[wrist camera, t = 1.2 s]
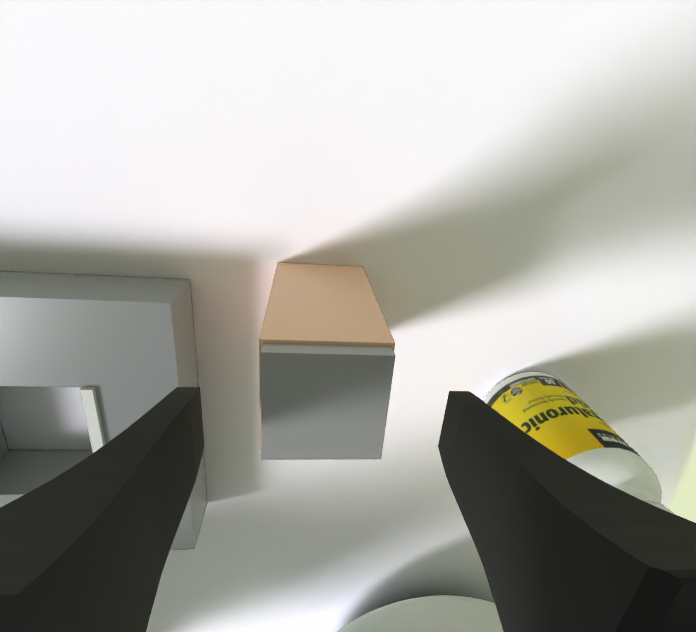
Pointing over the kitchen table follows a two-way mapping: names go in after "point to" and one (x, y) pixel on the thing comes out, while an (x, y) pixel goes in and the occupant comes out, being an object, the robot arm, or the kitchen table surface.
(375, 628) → the serving bowl
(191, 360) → the socket block
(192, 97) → the kitchen table surface
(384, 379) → the plug
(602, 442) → the supplement bottle
